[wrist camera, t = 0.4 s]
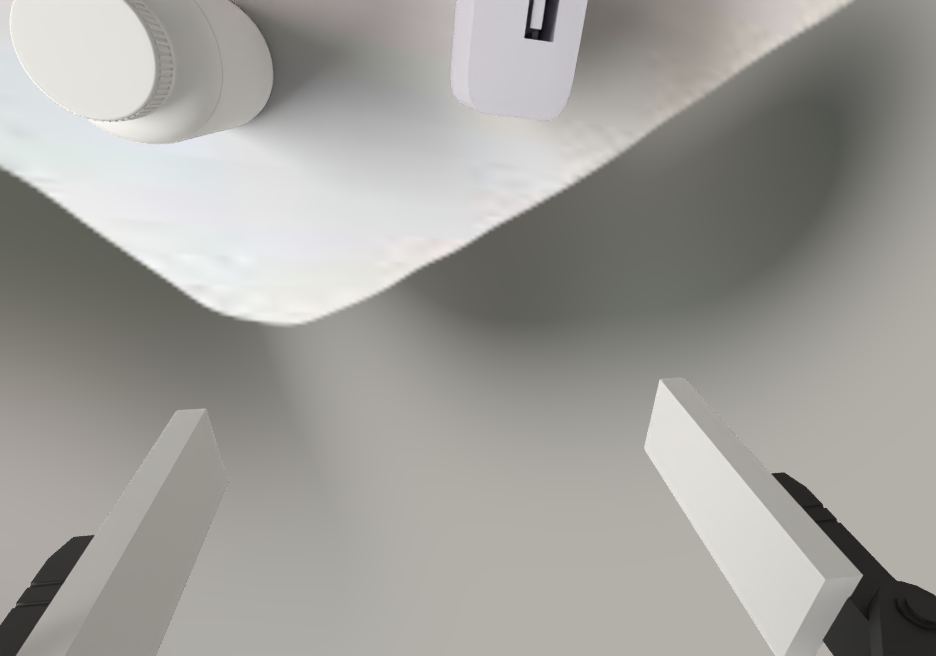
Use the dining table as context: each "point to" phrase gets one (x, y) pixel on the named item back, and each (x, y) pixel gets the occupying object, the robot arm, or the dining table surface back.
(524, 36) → the charger
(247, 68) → the pill bottle
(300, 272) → the dining table surface
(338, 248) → the dining table surface
